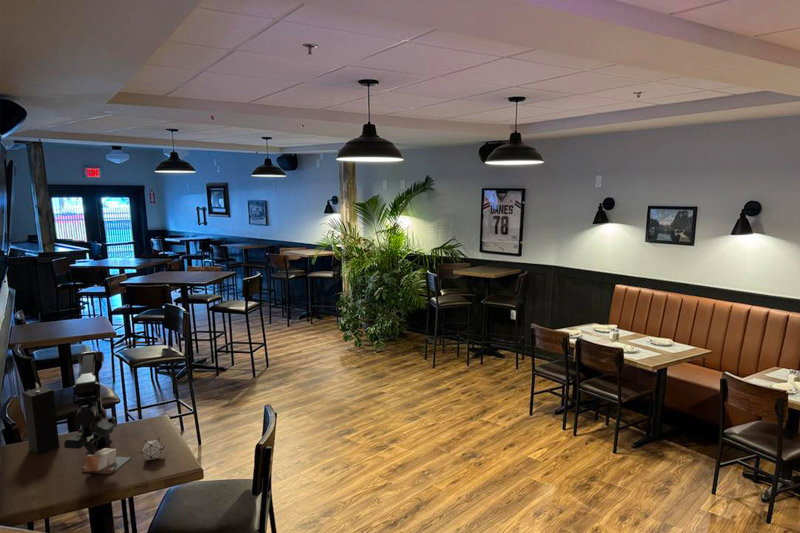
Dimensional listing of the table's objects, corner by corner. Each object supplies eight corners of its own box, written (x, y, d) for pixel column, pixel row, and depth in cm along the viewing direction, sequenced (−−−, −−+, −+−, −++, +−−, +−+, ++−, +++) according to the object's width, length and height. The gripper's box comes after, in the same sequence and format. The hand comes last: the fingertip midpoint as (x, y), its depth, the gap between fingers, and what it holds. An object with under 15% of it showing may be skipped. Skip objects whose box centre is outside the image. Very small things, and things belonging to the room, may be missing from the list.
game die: (155, 470, 195) (151, 459, 188) (136, 460, 196) (132, 449, 189) (171, 450, 201) (167, 438, 195) (153, 441, 203) (149, 429, 196)
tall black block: (38, 455, 199) (30, 388, 195) (29, 450, 203) (21, 384, 199) (59, 447, 205) (52, 382, 201) (50, 442, 210) (43, 378, 205)
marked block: (85, 456, 184) (104, 448, 194) (84, 470, 184) (104, 461, 194) (98, 457, 184) (116, 448, 194) (97, 471, 183) (116, 462, 193)
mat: (86, 468, 189) (86, 467, 189) (103, 456, 198) (102, 455, 198) (115, 471, 188) (115, 470, 188) (131, 458, 197) (130, 457, 197)
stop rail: (82, 471, 187) (81, 468, 187) (86, 468, 189) (85, 465, 189) (111, 474, 186) (111, 470, 186) (115, 471, 188) (114, 467, 188)
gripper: (90, 427, 172) (94, 469, 174) (126, 404, 190) (129, 443, 192) (60, 425, 173) (65, 467, 176) (99, 403, 192) (103, 441, 194)
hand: (92, 454), depth 184 cm, fingers closed
